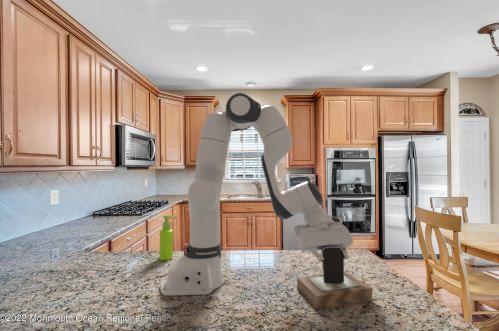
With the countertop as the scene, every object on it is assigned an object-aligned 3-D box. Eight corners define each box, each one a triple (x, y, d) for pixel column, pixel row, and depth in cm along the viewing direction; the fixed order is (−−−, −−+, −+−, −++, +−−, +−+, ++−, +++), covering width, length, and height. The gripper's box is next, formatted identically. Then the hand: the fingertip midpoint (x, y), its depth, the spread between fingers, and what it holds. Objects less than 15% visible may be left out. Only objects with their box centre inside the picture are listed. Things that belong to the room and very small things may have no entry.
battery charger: (341, 279, 83) (339, 245, 84) (345, 283, 79) (343, 247, 80) (320, 279, 83) (319, 245, 84) (323, 283, 79) (322, 247, 80)
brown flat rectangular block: (317, 309, 72) (317, 295, 72) (297, 289, 84) (297, 276, 84) (372, 300, 77) (372, 287, 77) (345, 282, 90) (345, 271, 90)
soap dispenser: (170, 260, 110) (171, 217, 111) (156, 259, 112) (157, 216, 112) (176, 256, 116) (177, 215, 117) (163, 255, 117) (164, 214, 118)
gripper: (295, 220, 85) (309, 258, 76) (344, 218, 91) (363, 252, 81) (290, 230, 90) (302, 266, 80) (337, 227, 95) (354, 261, 85)
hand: (333, 259), depth 80 cm, fingers open, 8 cm apart
